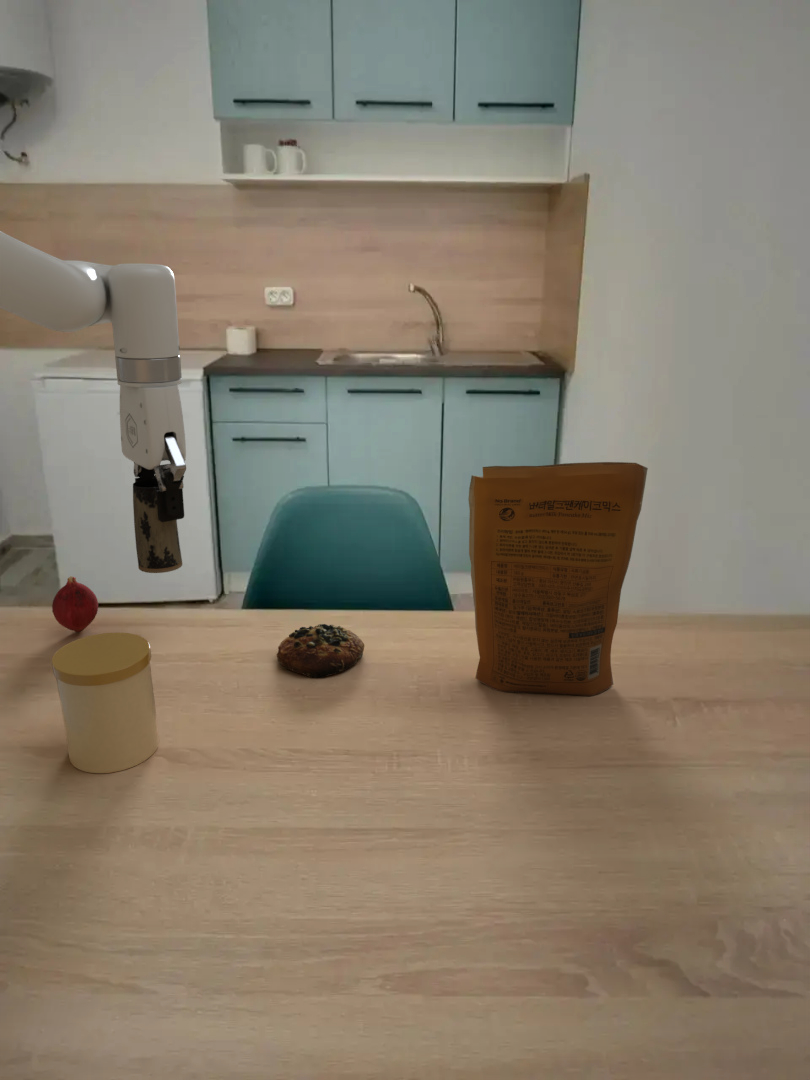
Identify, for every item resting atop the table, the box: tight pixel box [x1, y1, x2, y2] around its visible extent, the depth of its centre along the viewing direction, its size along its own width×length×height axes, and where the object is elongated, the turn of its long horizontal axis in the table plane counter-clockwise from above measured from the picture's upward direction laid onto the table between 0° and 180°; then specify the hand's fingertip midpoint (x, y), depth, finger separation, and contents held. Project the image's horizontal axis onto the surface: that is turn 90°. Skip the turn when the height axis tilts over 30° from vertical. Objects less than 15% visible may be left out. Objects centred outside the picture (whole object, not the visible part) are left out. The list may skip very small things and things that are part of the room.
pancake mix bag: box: [467, 461, 649, 697], centre depth 94 cm, size 7×19×28 cm, turn 84°
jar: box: [51, 632, 160, 774], centre depth 85 cm, size 9×9×11 cm
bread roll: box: [276, 623, 365, 679], centre depth 106 cm, size 11×11×5 cm
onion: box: [51, 575, 99, 633], centre depth 112 cm, size 6×6×8 cm
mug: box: [132, 470, 183, 574], centre depth 107 cm, size 8×6×12 cm
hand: (160, 511), depth 106 cm, fingers closed on mug, 6 cm apart
